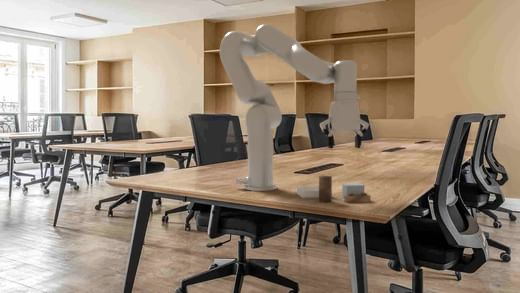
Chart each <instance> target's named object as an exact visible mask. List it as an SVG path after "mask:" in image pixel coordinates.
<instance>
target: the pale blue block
mask: <svg viewBox="0 0 520 293" xmlns="http://www.w3.org/2000/svg"><path fill="white" fill-rule="evenodd" d="M341 187H342V192H341V196H342V197H341V198H342V199H343V200H344V195H348V193H353V194H354V195H361V193H365V184H362V183H361V182H359V183H358V182H357V183H356V182H355V183H353V182H352V183H351V182H350V183H342V186H341Z"/></svg>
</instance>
